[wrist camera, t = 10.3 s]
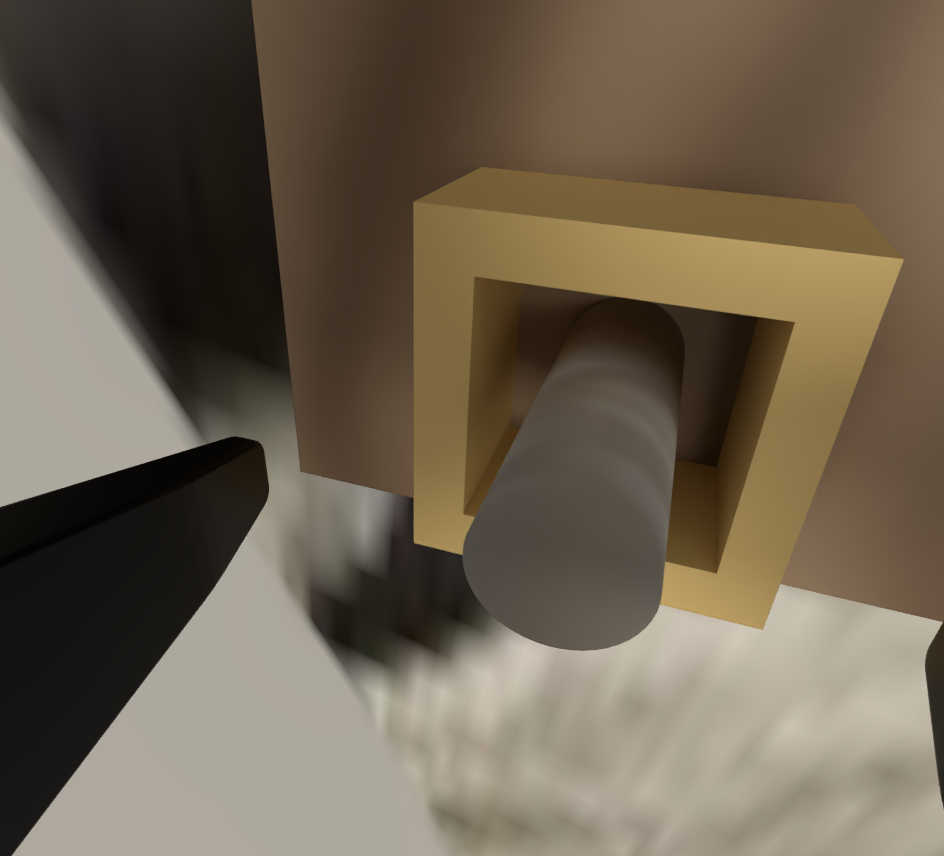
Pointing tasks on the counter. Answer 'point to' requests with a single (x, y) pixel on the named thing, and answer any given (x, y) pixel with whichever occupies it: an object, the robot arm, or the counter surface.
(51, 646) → the robot arm
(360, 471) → the board
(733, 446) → the open wall cube
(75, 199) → the counter surface
